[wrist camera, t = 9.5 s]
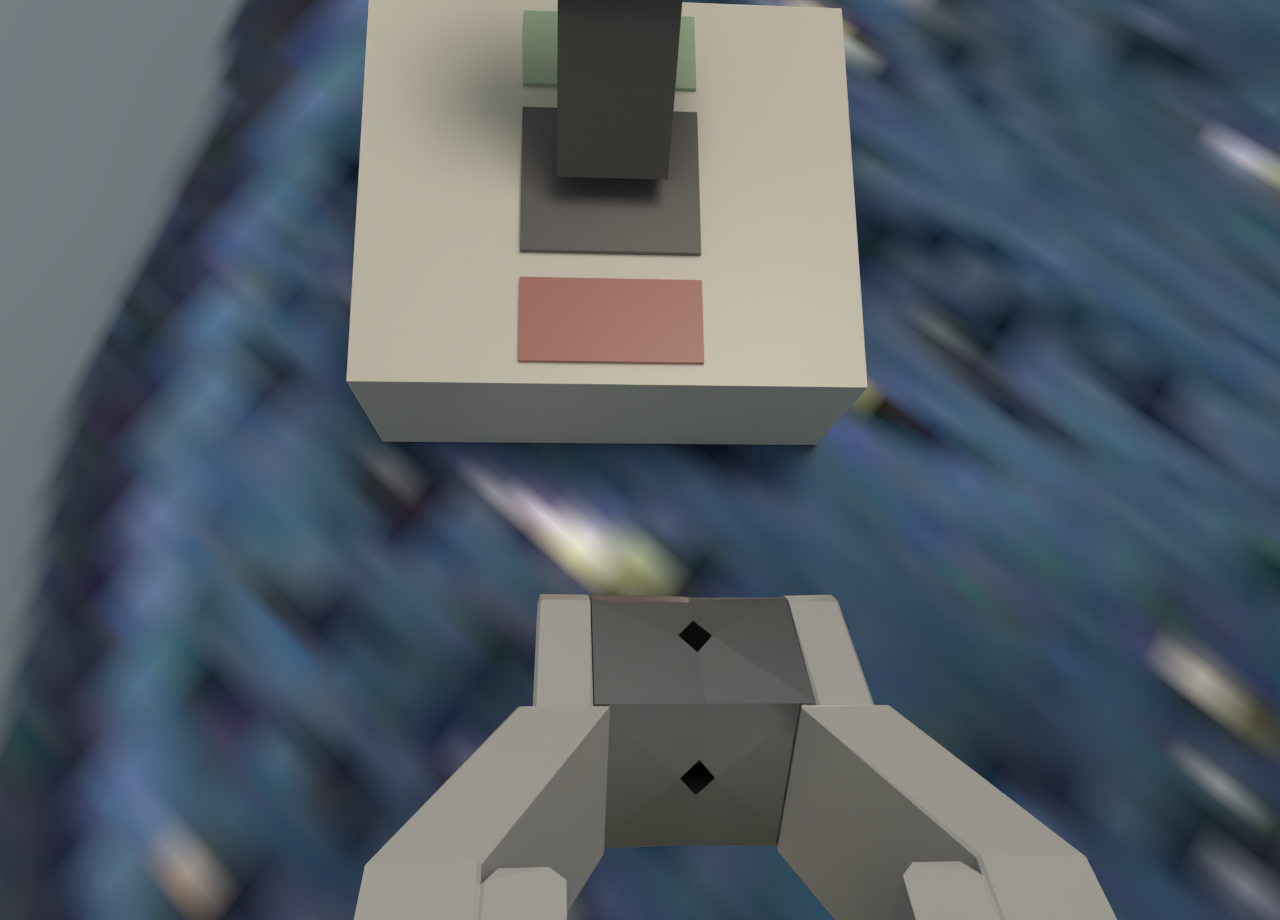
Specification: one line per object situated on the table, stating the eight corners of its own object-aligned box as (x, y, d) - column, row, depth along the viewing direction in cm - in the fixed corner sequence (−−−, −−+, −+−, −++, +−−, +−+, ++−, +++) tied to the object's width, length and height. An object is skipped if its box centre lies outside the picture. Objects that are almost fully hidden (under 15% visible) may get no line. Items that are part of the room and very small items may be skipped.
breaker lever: (724, 188, 29) (768, -177, 23) (500, 182, 28) (485, -192, 22) (715, 146, 31) (754, -204, 25) (503, 139, 30) (492, -219, 24)
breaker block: (816, 445, 35) (869, 384, 29) (376, 441, 34) (337, 378, 28) (798, 119, 38) (843, 4, 32) (393, 106, 37) (361, -15, 31)
